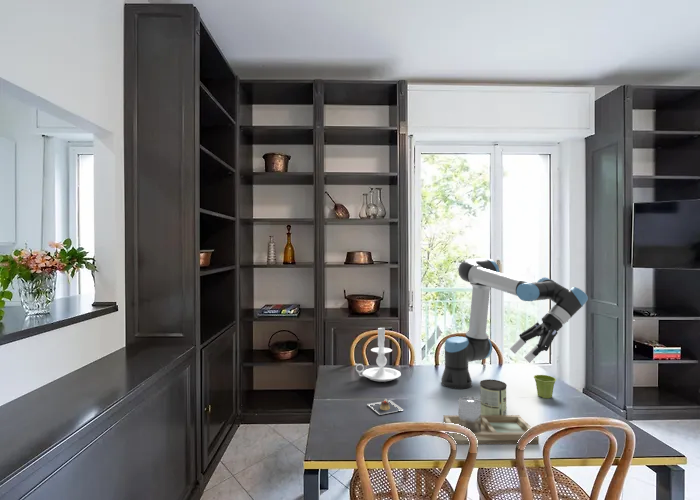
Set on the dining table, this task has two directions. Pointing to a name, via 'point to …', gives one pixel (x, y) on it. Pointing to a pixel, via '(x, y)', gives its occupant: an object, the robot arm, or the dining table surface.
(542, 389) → the plant pot
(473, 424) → the clear glass jar
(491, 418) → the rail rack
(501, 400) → the coffee can
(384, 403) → the dessert
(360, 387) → the dining table surface
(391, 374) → the candlestick
